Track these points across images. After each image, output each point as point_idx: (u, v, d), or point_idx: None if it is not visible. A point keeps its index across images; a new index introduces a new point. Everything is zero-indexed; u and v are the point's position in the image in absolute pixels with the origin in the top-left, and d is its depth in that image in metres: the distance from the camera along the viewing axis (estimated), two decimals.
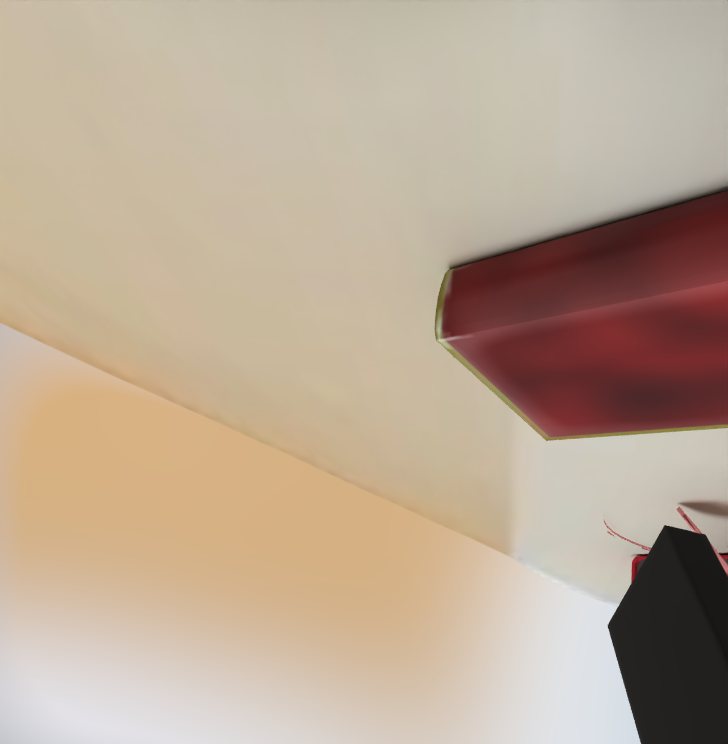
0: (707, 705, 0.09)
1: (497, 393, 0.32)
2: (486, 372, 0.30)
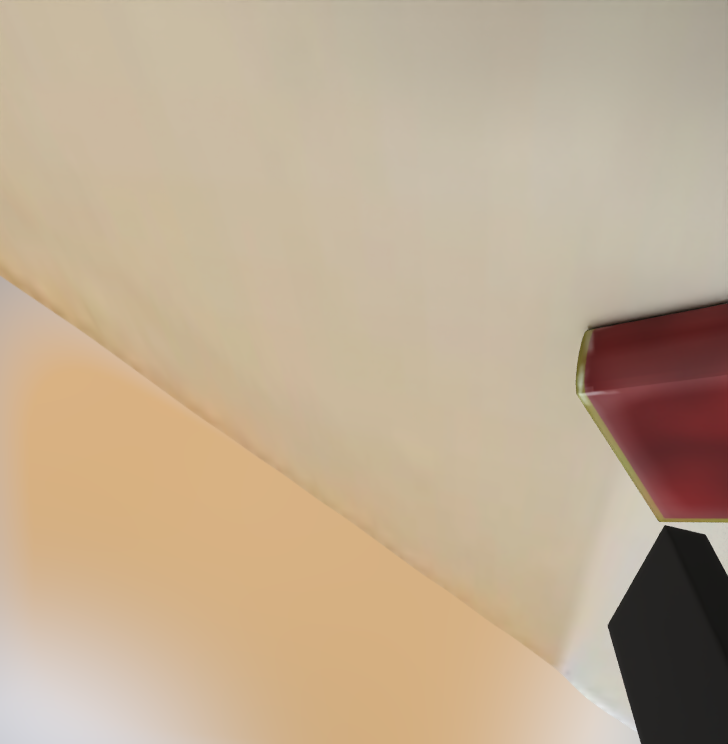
0: (707, 705, 0.09)
1: (622, 460, 0.31)
2: (618, 435, 0.29)
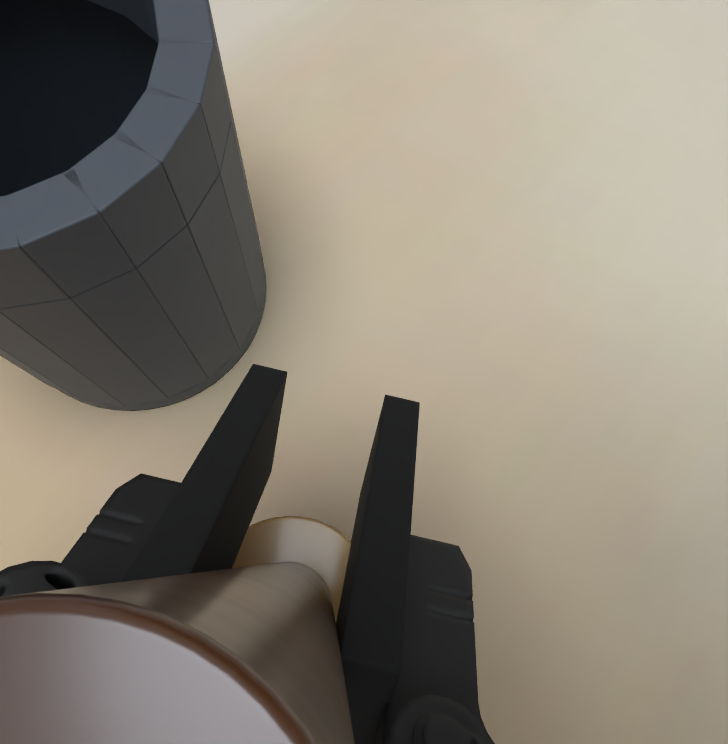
0: (362, 513, 0.11)
1: None
2: None
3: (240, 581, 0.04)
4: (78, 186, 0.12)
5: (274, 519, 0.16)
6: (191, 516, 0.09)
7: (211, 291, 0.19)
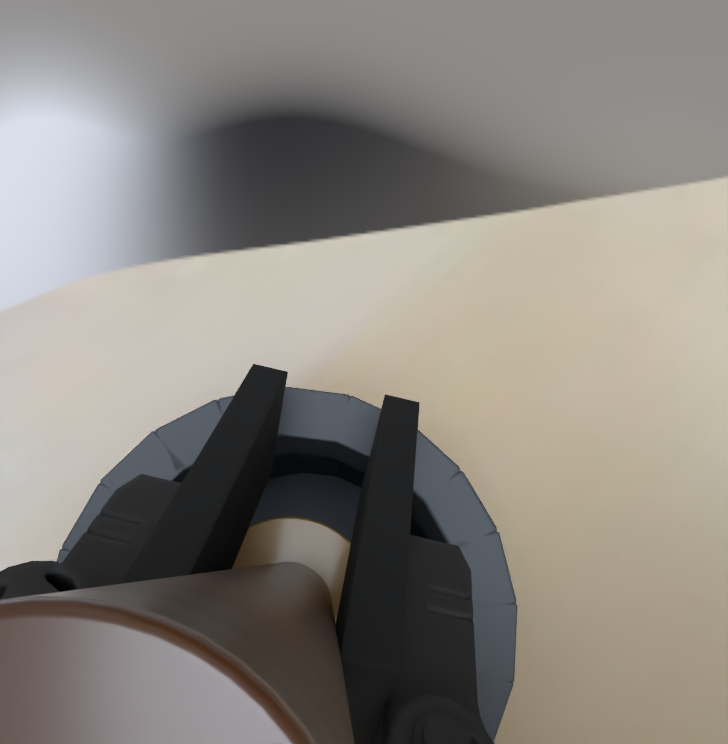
0: (361, 513, 0.11)
1: None
2: None
3: (240, 582, 0.04)
4: None
5: (274, 519, 0.16)
6: (192, 516, 0.09)
7: None
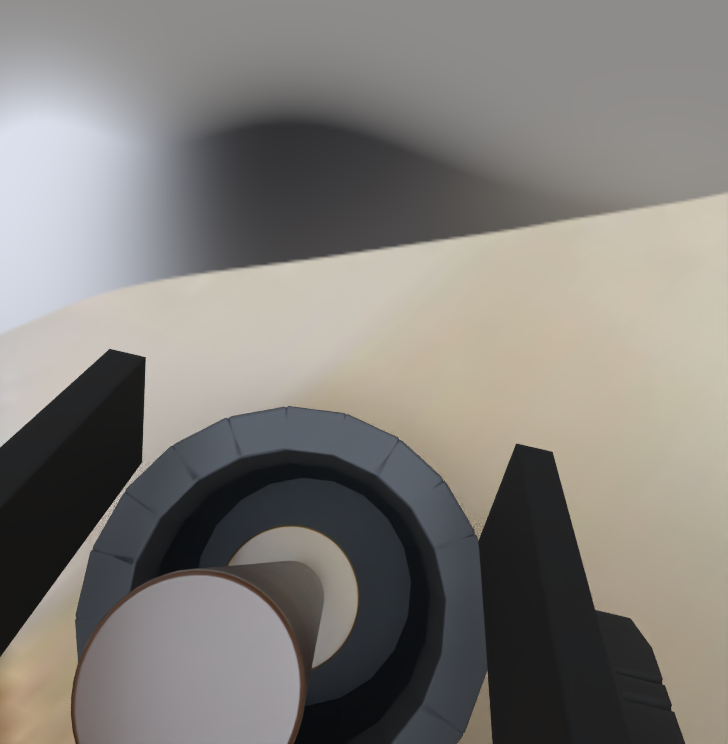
0: (520, 581, 0.10)
1: None
2: None
3: (257, 569, 0.09)
4: None
5: (278, 527, 0.20)
6: None
7: None
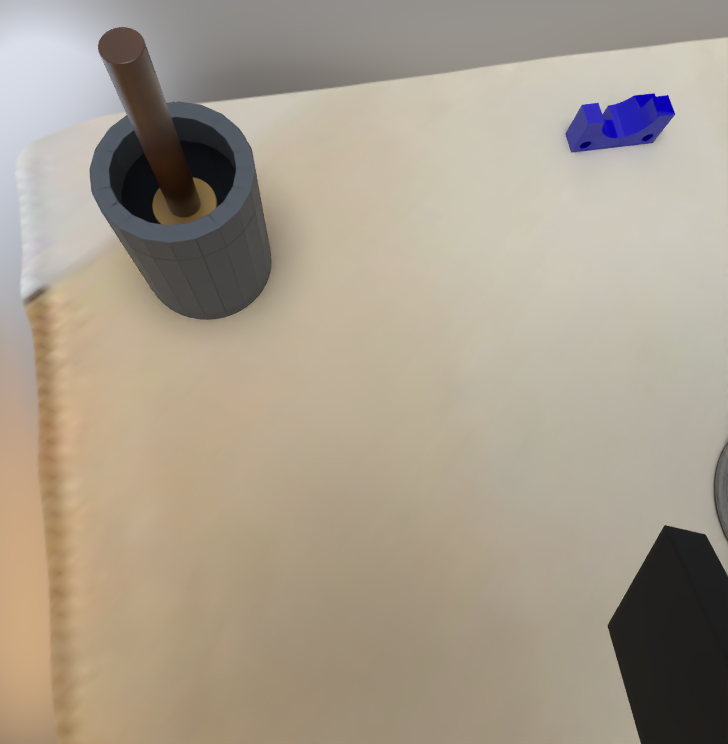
0: (707, 705, 0.09)
1: None
2: None
3: None
4: (212, 219, 0.39)
5: None
6: None
7: (249, 258, 0.45)
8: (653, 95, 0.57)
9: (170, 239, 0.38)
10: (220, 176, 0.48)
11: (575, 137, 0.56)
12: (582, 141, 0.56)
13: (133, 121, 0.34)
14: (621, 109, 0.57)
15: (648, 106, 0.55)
